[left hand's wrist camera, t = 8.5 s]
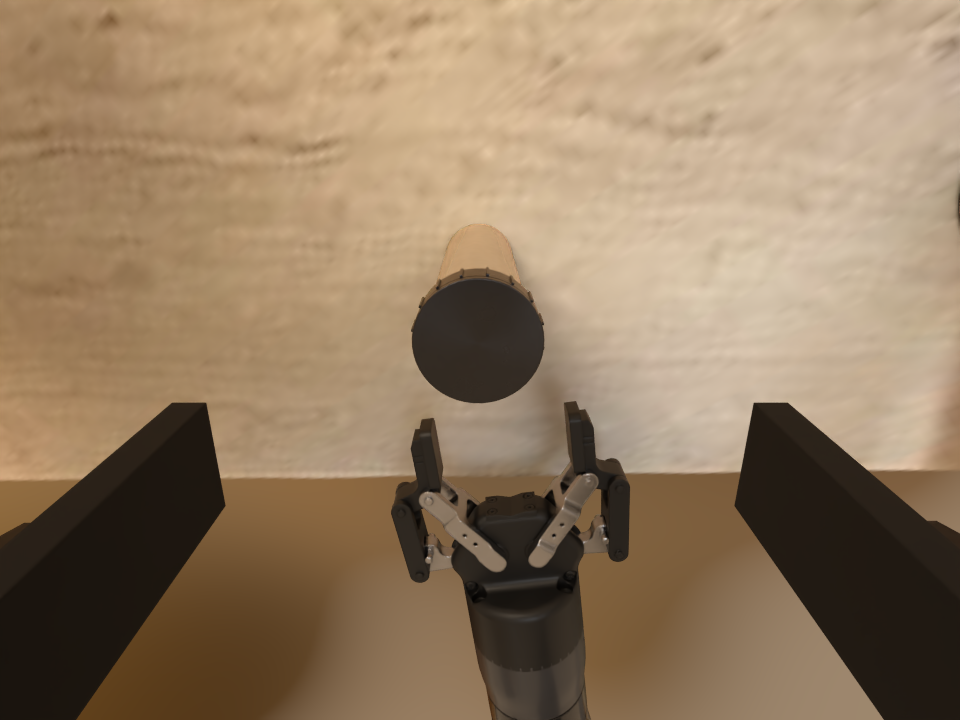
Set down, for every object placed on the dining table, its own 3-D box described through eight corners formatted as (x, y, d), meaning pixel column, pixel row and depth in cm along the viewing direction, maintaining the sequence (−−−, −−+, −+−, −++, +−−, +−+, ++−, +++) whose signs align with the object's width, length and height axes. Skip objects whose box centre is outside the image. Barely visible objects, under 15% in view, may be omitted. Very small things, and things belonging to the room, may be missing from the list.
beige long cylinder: (443, 225, 36) (417, 287, 21) (510, 222, 36) (533, 281, 21) (448, 291, 38) (426, 393, 22) (512, 287, 37) (535, 388, 22)
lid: (410, 270, 22) (404, 280, 20) (539, 263, 22) (544, 273, 20) (421, 388, 24) (417, 407, 22) (541, 382, 24) (546, 401, 22)
